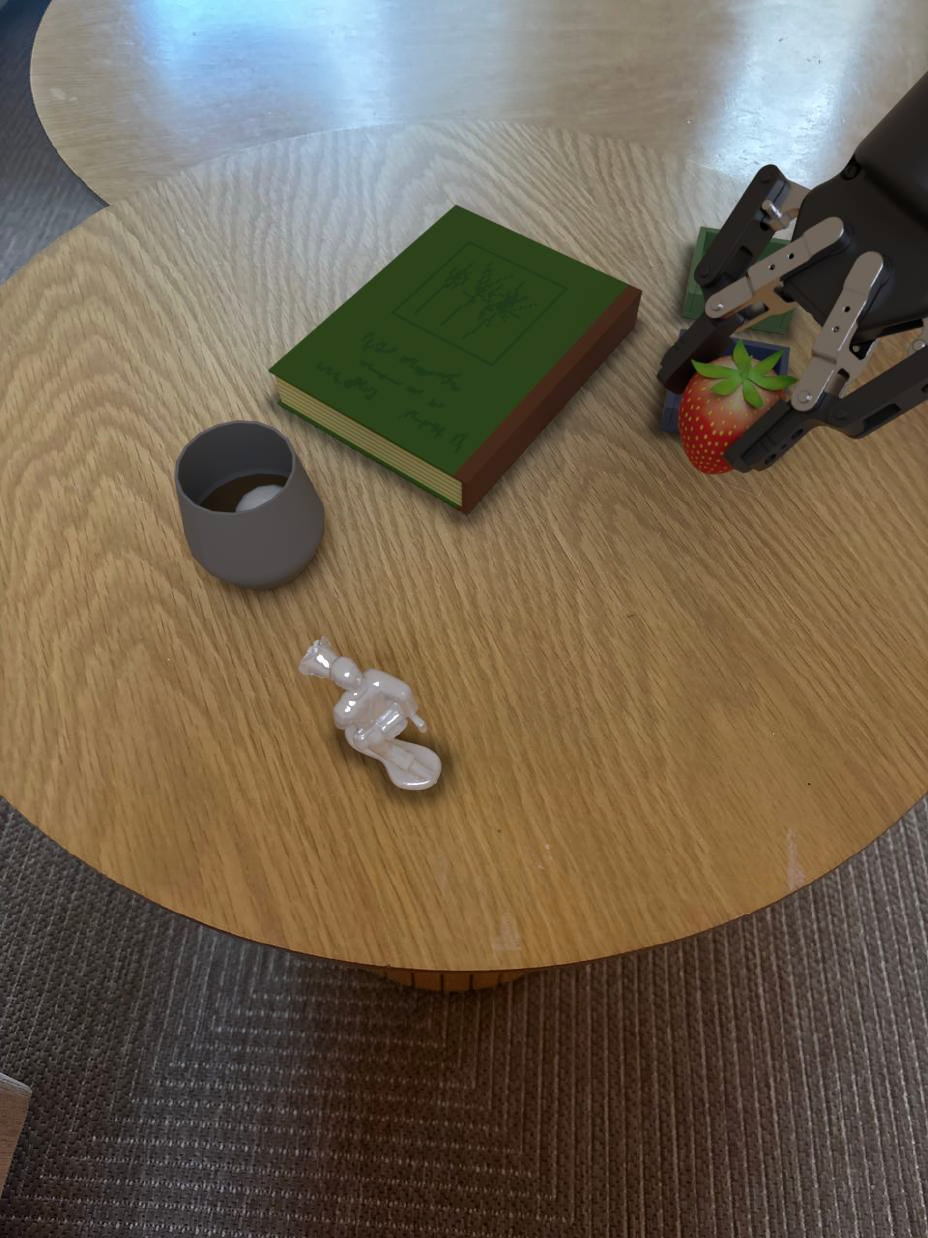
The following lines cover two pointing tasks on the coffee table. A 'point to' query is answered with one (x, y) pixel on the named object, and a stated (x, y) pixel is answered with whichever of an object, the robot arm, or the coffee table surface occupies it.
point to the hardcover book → (457, 354)
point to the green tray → (694, 294)
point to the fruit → (726, 405)
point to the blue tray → (752, 347)
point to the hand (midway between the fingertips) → (700, 424)
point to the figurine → (376, 716)
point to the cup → (248, 505)
